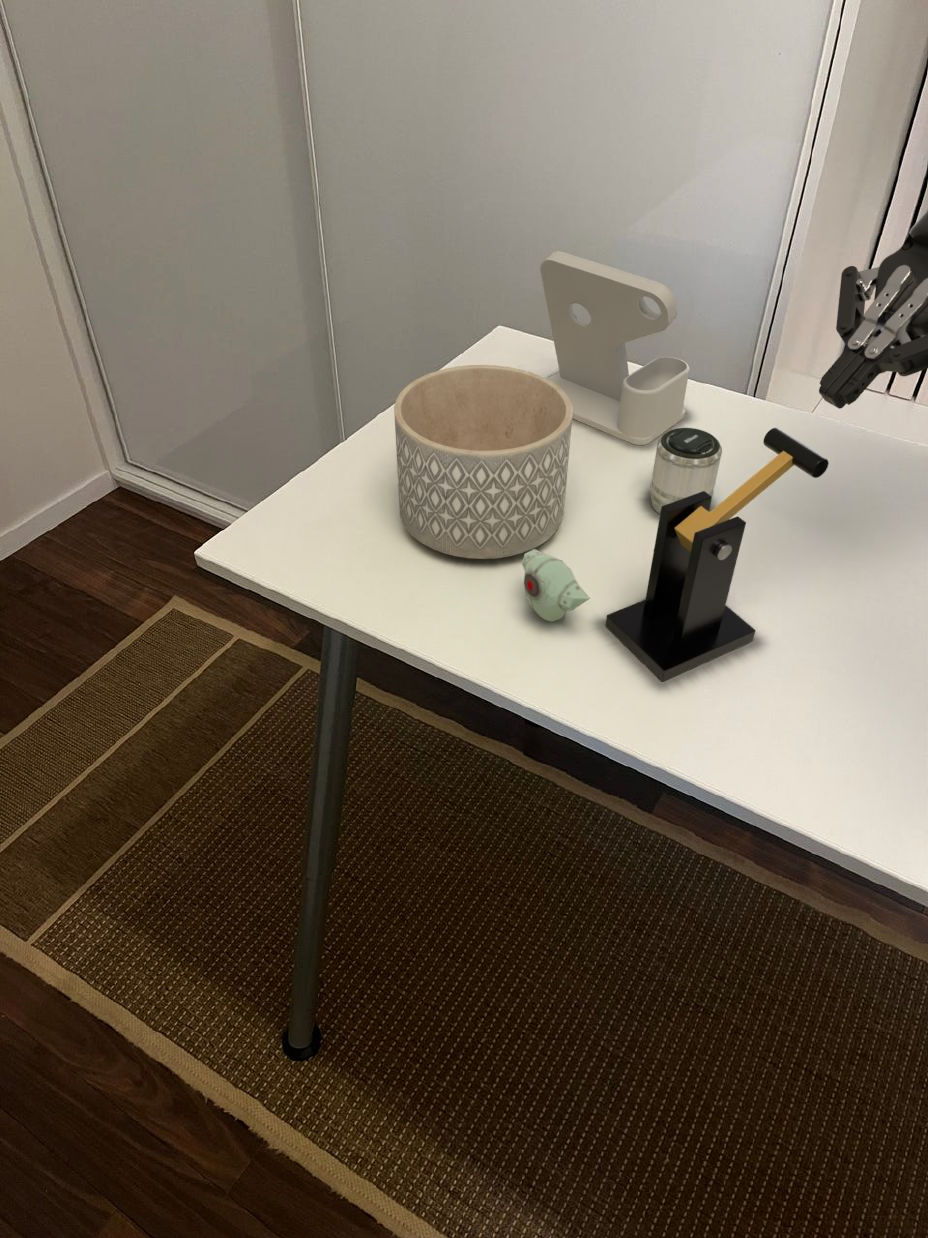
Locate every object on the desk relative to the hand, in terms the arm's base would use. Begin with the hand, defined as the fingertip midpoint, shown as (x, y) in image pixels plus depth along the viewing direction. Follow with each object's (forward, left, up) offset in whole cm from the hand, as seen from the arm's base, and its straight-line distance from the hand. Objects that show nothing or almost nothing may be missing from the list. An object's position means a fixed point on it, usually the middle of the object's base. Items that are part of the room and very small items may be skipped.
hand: (829, 400), depth 73 cm
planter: (+28, +8, -20) cm, 35 cm away
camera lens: (+14, -7, -20) cm, 25 cm away
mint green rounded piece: (+14, +16, -20) cm, 29 cm away
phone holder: (+31, -19, -20) cm, 41 cm away
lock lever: (+2, +6, -8) cm, 10 cm away
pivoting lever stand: (+4, +10, -20) cm, 23 cm away
